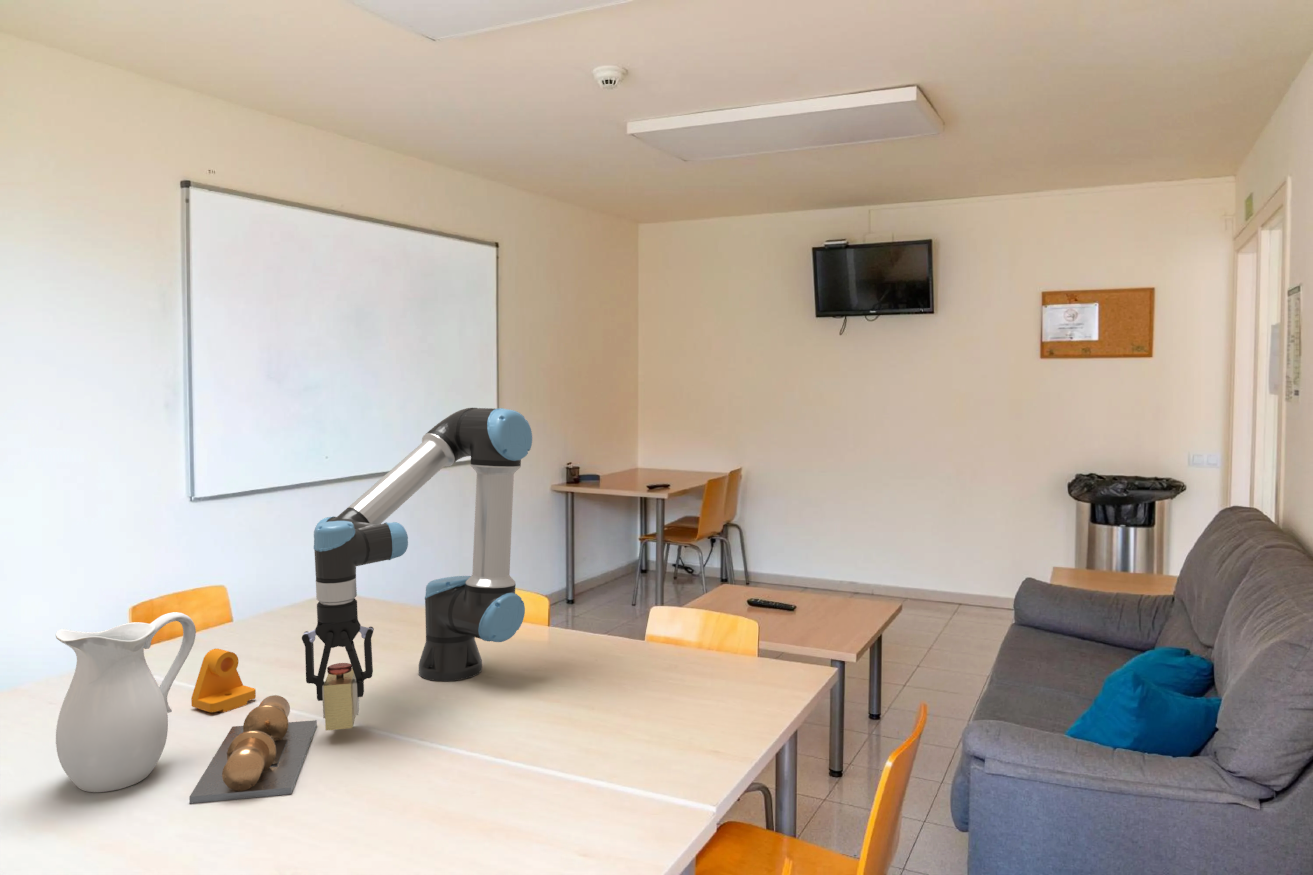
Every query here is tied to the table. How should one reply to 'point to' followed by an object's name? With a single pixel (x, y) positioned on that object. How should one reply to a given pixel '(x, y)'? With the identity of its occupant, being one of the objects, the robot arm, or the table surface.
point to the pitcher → (116, 705)
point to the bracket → (220, 684)
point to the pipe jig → (257, 756)
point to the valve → (339, 697)
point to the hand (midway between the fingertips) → (341, 713)
